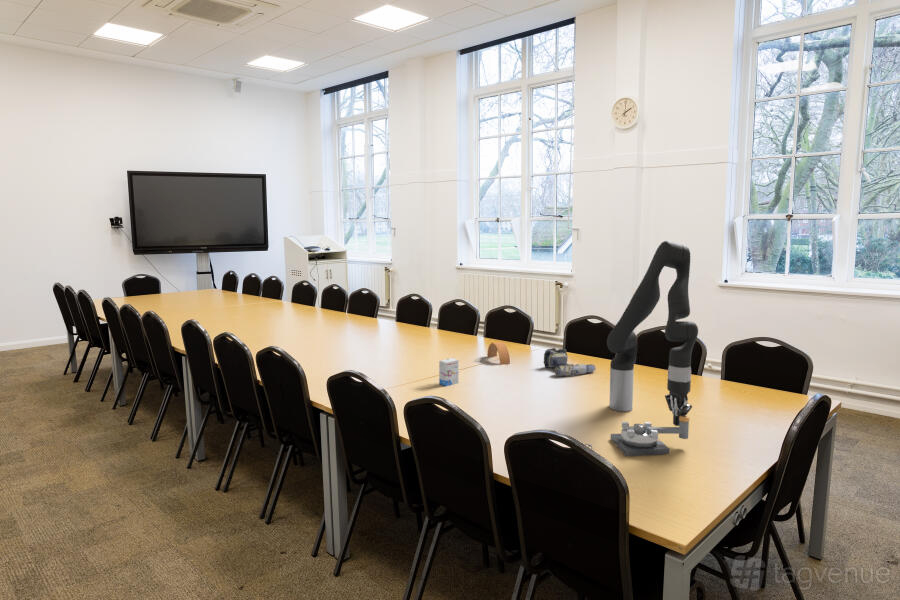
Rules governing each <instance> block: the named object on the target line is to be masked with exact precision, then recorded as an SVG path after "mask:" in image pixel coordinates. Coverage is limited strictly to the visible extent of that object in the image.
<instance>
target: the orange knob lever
mask: <svg viewBox="0 0 900 600" xmlns="http://www.w3.org/2000/svg"><path fill="white" fill-rule="evenodd" d="M689 423H690V417H689V416H687V415H686V416H679V426H652V422H650V421H644V422H643V423H634V424H633V425H630V423H629V422H628V421H621V431H620V432H621V433H620V434H621V440H622V442H624V443H625V444H628V445H630V446H635V447H653V446H655V445H657V443H658V439H659V434H665V435H666V434H671V435H672V434H674V435H675V434H677V435H678V437H679V439H682V440H688V439H689V431H690V430H689V429H690V428H689V426H690V424H689Z"/></svg>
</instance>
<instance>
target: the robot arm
mask: <svg viewBox="0 0 900 600" xmlns="http://www.w3.org/2000/svg"><path fill="white" fill-rule="evenodd" d="M665 267H667V268H669V269H674V270H675V272H676V278H675V281H674V282H673V283H672V285H671V287H670V289H669V290H668V292H667V307H668V314H667V321H666V325H665V328H664V336H665V338H666V339H667V341H669V342H676V343H677V342H680V343H683V344H682V345H680V346H678V347H677V346H676V347H673V348H670V350H669V357H668V359H669V360H668V368H667V385H666V387H667V388H666V389H667V391H669V393H668V394H665V395H664V398H665V401H666V404H667V407H668V409H669V411H670V412H671V413H672V416H673V418H672V424H673V426H674V427H679V416H687V415H688V413H689V412H690V411H691V409H693V405H692V404H689V402H688V400H689V398H688V394H689V393H690V392H691V387H692V385H691V382H692V368H691V367H692V366H691V365H692V353H693V349H694V347H695V346H694V345H695V343H696V340H697V339H698V335H699V327H698V325H697V324H696V323H695V322H693V321H689V320H688V321H684V320H683V321H681V319H686V318H688V317H689V316H690V314H691V306H690V298H689V297H690V296H689V281H690V270H691V251H690V248H689V247H688V246H687V245H684V244H680V243H677V242H674V241H669V240H664V241H662V242H661V243H660V244H659V245H658V247H657V249H656V251H655V252H654V254H653V257H652V259H651V261H650V264H649V266H648V268H647V270H646V272H645V275H643V278H642V280H641V282H640V283H639V285H638V286H637V289H635V292H634V293H633V295H632V296H631V299H630V301H629V303H628V304H627V307H626V308H625V310H624V311H623V313H622V315H621V317H620V318H619V320H618V321H617V323H616V324H615V325H614V327H613V328H612V330H611V331H610V332H609V334H608V336H607V339H606V345H607V348H608V350H609V352H611V353H613V354H616V355H615V356H614V357H613V358H612V359H611V360H610V368H609V369H610V370H609V371H610V372H609V373H610V374H609V404H608V405H609V409H610V410H613V411H616V412H631V411H633V405H634V403H633V402H634V369H635V363H636V361H637V352H638V337H637V334H636V332H634V330H635V329H637V327H638V326H639V325H640V324H641V323H642V322H643V321H645V320H646V319H647V318H648V317H649V316H650V315H651V313H652V312H653V311H654V310H655V308H656V306H657V305H658V303H659V302H660V298H661V288H660V282H659V281H660V279H659V278H660V275H661V273H662V271H663V269H664V268H665ZM677 320H678V321H677ZM679 320H680V321H679Z"/></svg>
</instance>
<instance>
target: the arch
mask: <svg viewBox="0 0 900 600" xmlns="http://www.w3.org/2000/svg"><path fill="white" fill-rule="evenodd" d="M497 356H499V357H498V358H499V365H500V366H501V365H510V364H511V358H510V353H509V349H508V346H507V345H506V343H505V342H502V341H500V342H498V341H496V342H491V343H490V344H489V345H488V348H487V357H488V358H491V357H497Z"/></svg>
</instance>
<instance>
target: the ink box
mask: <svg viewBox="0 0 900 600" xmlns="http://www.w3.org/2000/svg"><path fill="white" fill-rule="evenodd" d="M438 363H439V365H438V367H439V368H438V369H439V371H438V372H439V376H438V378H439V385H441V386H445V387H448V386H452V385H455V384H459V374H460V373H459V369H460V367H459V359H457V358H454V357H449V358H445V359H441V360H439V361H438Z"/></svg>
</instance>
